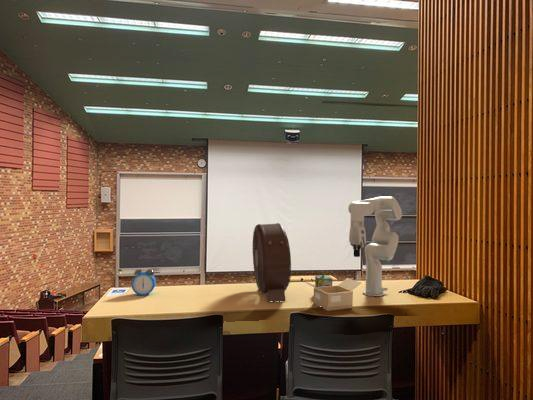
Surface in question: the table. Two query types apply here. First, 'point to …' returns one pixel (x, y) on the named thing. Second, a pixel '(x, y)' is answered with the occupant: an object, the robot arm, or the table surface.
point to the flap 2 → (350, 284)
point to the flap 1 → (316, 287)
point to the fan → (271, 260)
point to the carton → (333, 298)
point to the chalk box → (323, 281)
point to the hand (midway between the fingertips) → (356, 256)
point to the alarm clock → (143, 282)
